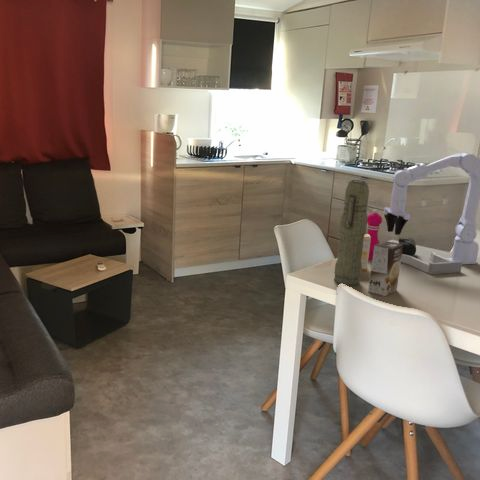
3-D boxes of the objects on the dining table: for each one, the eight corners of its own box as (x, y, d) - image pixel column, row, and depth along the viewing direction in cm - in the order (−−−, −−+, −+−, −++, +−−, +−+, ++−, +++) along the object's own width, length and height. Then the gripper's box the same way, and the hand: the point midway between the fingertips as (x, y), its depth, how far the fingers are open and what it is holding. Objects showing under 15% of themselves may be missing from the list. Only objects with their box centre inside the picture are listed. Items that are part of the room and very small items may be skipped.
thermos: (362, 279, 190) (375, 180, 182) (355, 288, 180) (368, 184, 171) (338, 274, 194) (349, 177, 185) (329, 284, 183) (341, 181, 174)
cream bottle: (365, 267, 205) (369, 233, 202) (367, 271, 200) (371, 236, 197) (343, 265, 206) (347, 232, 202) (344, 269, 201) (348, 235, 198)
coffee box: (385, 296, 174) (392, 249, 170) (367, 291, 178) (373, 244, 174) (397, 290, 181) (404, 244, 177) (379, 285, 185) (385, 240, 181)
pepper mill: (378, 261, 214) (385, 211, 209) (360, 259, 215) (366, 210, 210) (378, 256, 221) (384, 208, 216) (360, 254, 222) (366, 206, 217)
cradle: (432, 258, 222) (434, 249, 221) (463, 271, 207) (465, 261, 206) (397, 261, 216) (399, 251, 215) (427, 274, 200) (428, 264, 199)
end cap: (414, 260, 219) (417, 244, 217) (396, 257, 221) (398, 241, 219) (414, 254, 228) (416, 238, 227) (397, 251, 230) (399, 236, 229)
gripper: (379, 197, 223) (375, 229, 227) (401, 204, 210) (396, 237, 214) (393, 197, 226) (389, 228, 229) (416, 203, 213) (411, 237, 216)
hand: (393, 233), depth 222 cm, fingers open, 4 cm apart
